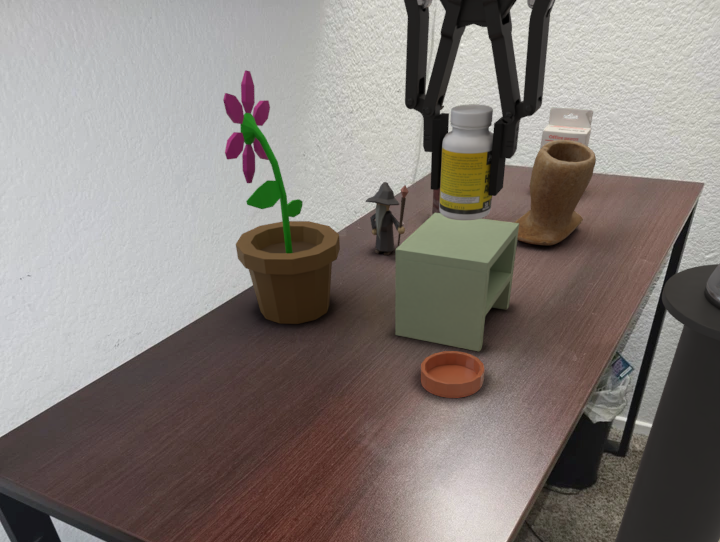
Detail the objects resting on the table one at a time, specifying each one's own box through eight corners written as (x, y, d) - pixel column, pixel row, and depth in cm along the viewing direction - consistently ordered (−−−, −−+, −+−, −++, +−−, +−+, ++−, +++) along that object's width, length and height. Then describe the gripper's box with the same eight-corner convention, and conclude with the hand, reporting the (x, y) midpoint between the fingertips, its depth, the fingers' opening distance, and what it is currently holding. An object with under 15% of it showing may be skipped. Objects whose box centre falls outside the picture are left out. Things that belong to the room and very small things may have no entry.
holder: (490, 372, 82) (492, 358, 81) (471, 403, 77) (472, 389, 76) (433, 360, 85) (434, 346, 84) (411, 390, 80) (411, 375, 79)
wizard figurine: (361, 254, 112) (358, 180, 104) (377, 243, 115) (375, 170, 107) (404, 263, 108) (405, 187, 101) (419, 251, 112) (421, 176, 104)
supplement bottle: (490, 222, 67) (499, 115, 60) (437, 221, 68) (440, 115, 61) (491, 204, 71) (500, 101, 64) (441, 203, 72) (445, 102, 65)
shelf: (509, 306, 96) (519, 223, 88) (479, 351, 86) (488, 263, 78) (431, 293, 100) (434, 212, 92) (395, 335, 90) (395, 249, 82)
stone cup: (563, 257, 108) (580, 159, 98) (498, 242, 114) (508, 148, 104) (598, 228, 117) (617, 136, 107) (537, 216, 123) (549, 127, 113)
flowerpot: (273, 282, 105) (245, 61, 85) (357, 293, 100) (348, 64, 81) (228, 322, 95) (185, 83, 75) (320, 337, 90) (299, 87, 71)
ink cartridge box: (532, 194, 132) (543, 112, 122) (538, 186, 135) (549, 106, 126) (576, 198, 129) (590, 115, 119) (580, 191, 132) (595, 108, 123)
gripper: (361, -108, 53) (370, 191, 68) (595, -123, 47) (547, 210, 62) (396, -109, 58) (397, 170, 73) (612, -123, 52) (564, 185, 67)
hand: (466, 188), depth 68 cm, fingers closed on supplement bottle, 5 cm apart
